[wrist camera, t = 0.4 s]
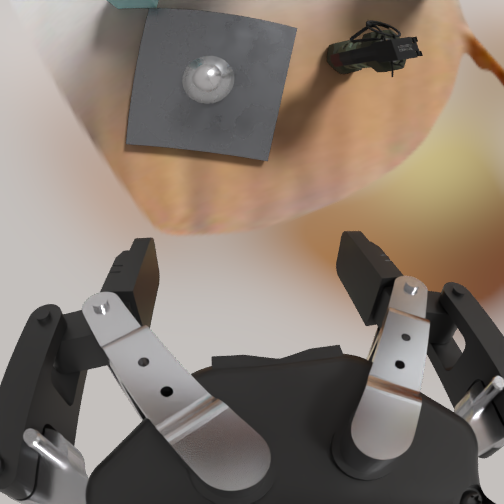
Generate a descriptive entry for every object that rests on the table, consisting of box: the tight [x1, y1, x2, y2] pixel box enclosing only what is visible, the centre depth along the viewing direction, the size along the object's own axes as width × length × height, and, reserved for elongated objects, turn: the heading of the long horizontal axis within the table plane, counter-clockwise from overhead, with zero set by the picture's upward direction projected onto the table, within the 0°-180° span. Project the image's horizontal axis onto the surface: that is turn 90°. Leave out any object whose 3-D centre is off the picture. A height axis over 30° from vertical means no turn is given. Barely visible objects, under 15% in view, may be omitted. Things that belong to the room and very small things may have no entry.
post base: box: [126, 8, 297, 161], centre depth 29 cm, size 18×18×6 cm
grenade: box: [327, 21, 423, 77], centre depth 24 cm, size 6×6×15 cm
